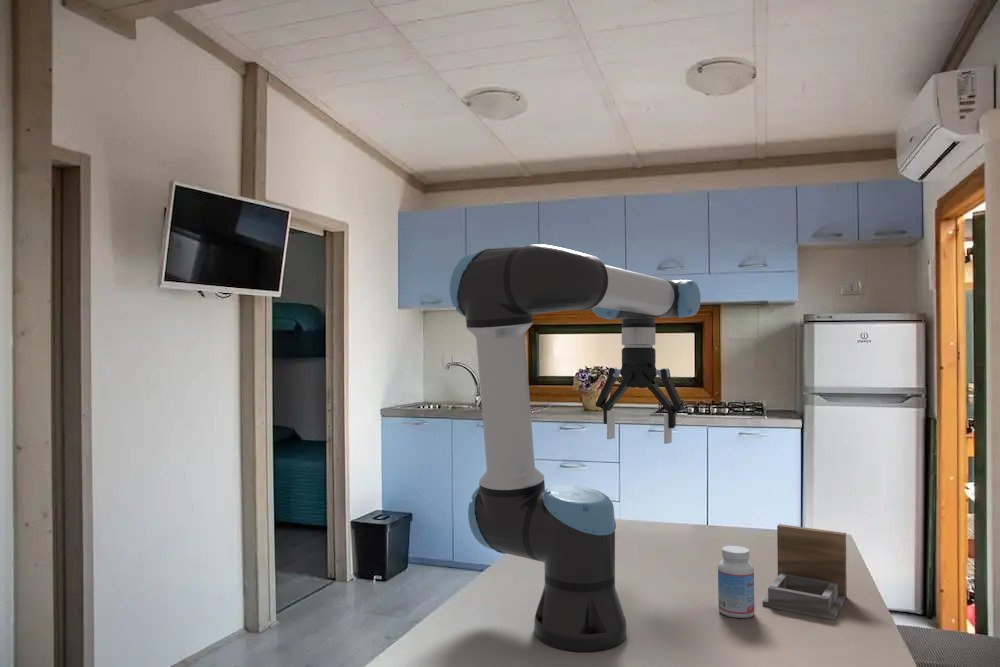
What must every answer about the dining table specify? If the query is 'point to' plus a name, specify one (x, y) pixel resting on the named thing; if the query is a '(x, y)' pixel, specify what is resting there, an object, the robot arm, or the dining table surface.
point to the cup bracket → (809, 572)
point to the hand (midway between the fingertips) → (638, 441)
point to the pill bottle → (735, 583)
